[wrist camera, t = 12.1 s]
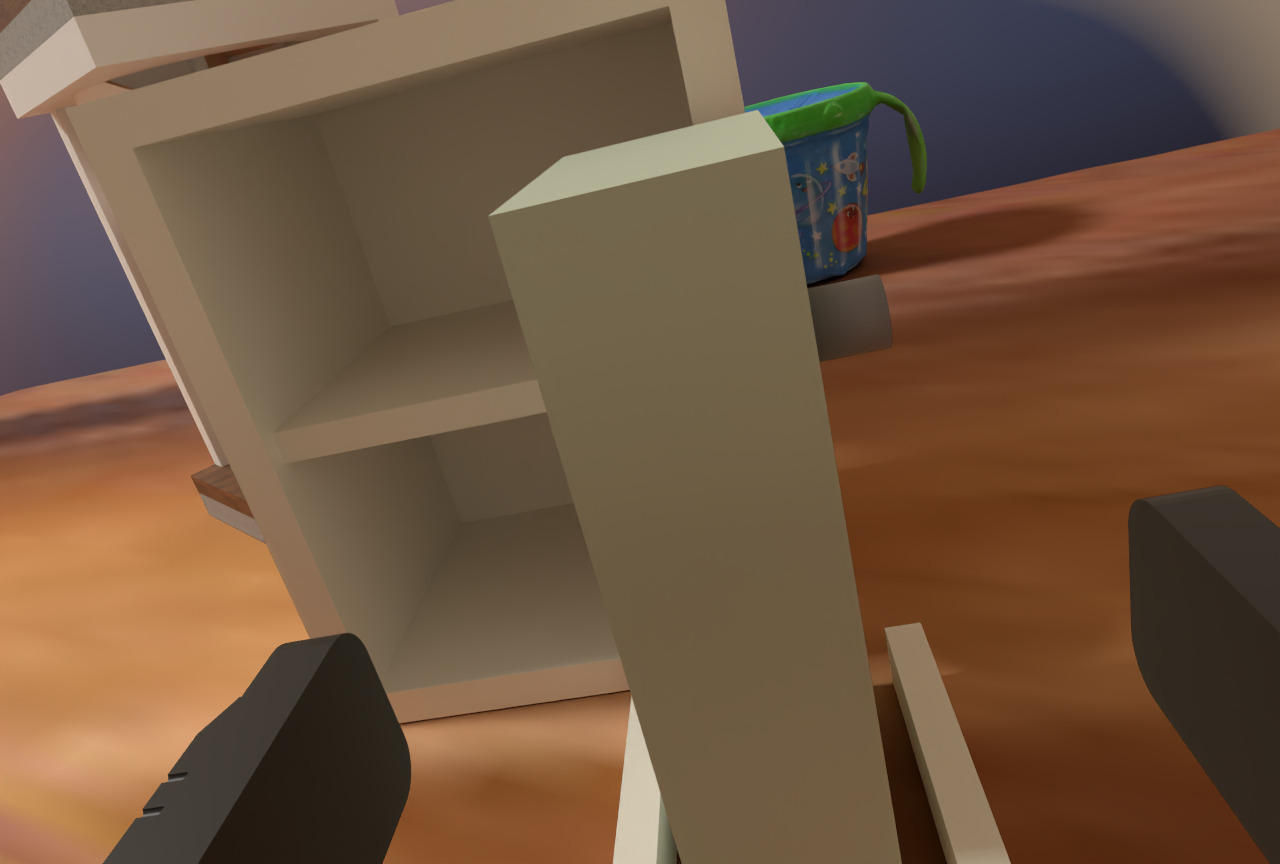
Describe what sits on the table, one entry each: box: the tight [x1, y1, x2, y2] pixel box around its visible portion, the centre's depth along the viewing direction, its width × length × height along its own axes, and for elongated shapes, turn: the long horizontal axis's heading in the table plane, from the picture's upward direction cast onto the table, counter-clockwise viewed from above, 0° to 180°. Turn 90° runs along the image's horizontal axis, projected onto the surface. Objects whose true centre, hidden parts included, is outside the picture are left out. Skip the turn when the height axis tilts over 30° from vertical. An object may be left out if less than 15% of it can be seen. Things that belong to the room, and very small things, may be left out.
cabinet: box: [65, 0, 1011, 864], centre depth 20 cm, size 15×18×16 cm
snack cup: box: [744, 82, 927, 285], centre depth 53 cm, size 16×10×10 cm
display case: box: [0, 0, 399, 543], centre depth 33 cm, size 11×11×35 cm
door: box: [488, 110, 902, 864], centre depth 15 cm, size 5×6×13 cm
